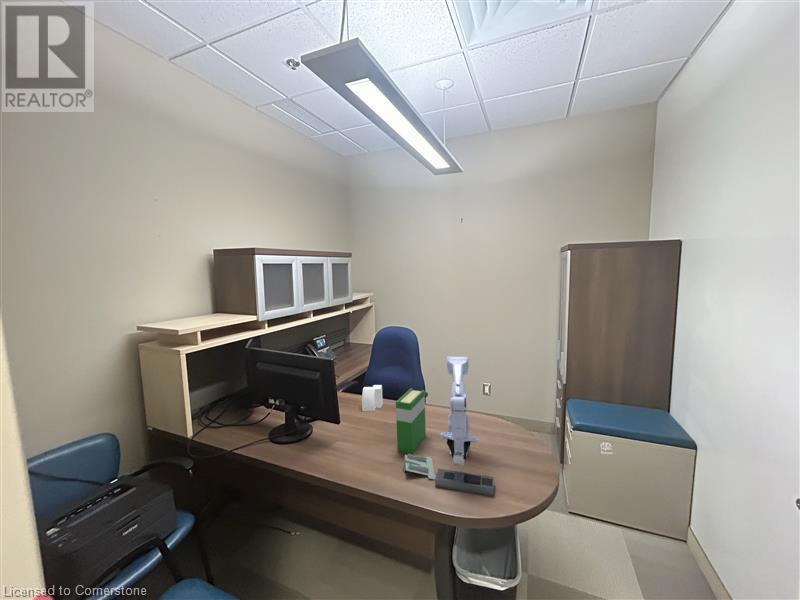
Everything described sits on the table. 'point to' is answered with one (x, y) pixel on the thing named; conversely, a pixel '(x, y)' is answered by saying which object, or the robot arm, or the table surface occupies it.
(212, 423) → the table surface
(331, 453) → the table surface
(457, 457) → the cube with square inset
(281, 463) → the table surface
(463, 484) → the rail
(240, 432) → the table surface
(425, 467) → the metal bracket
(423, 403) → the hardback book
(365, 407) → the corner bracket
